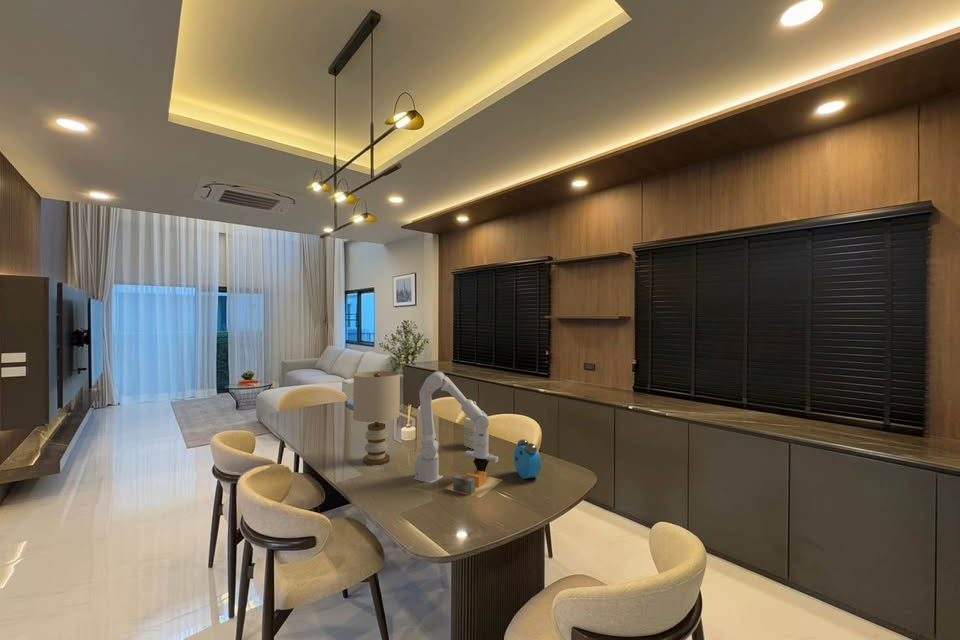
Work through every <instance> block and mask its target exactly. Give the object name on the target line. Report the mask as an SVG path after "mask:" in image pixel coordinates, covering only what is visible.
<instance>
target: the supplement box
mask: <svg viewBox="0 0 960 640" xmlns="http://www.w3.org/2000/svg"><path fill="white" fill-rule="evenodd" d="M463 421H464V422H463V423H464V424H463V425H464V431H463V433H464V436H463V438H464V439H463V441H464V443H463V446H467V447H469V448H471V449H470V450H472V449H474V450H473V451H475V426H474V422H473V421H471V419H470V418H469V417H465V418H464V420H463ZM467 447H466V448H467ZM469 448H468V449H469Z"/></svg>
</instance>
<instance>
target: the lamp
mask: <svg viewBox="0 0 960 640" xmlns="http://www.w3.org/2000/svg"><path fill="white" fill-rule="evenodd" d="M400 384H401V373H400V372H397V371H388V370H387V371H386V370H384V371H382V370H381V371H380V370H379V371H377V370H374V371H363V372H357V373H354V374H353V392H352V393H353V395H352V396H353V398H352V399H353V404H352V406H353V407H352V409H353V410H352V413H353V414H352V419H353V420H355V421H356V422H361V423H369V424H367V431H366V432H365V433H364V434H365V435H364V438H365V439H366V440H367V444H365V445H364V451H365V452H367V454H366V455H365V456H363V457H362V464H363V463H364V464H363V465H365V464H366V465H365V466H368V465H379V466H383V465H386V464H388V463H389V462H390V461H391V460H390V458H391V456H390V454H388V453H386V451H387V450H388V449H389V447H388V446H389V444H388V442H386V439H387V438H388V436H389V432H388V430H386V423H384V422H388V421H392V420H393V421H394V420H396V419H398V418H399V417H400V407H401V406H400V405H401V404H400V402H401V400H400V399H401V398H400V397H401V396H400V395H401V394H400V393H401V388H400V387H401V385H400ZM382 464H383V465H382Z"/></svg>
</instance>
